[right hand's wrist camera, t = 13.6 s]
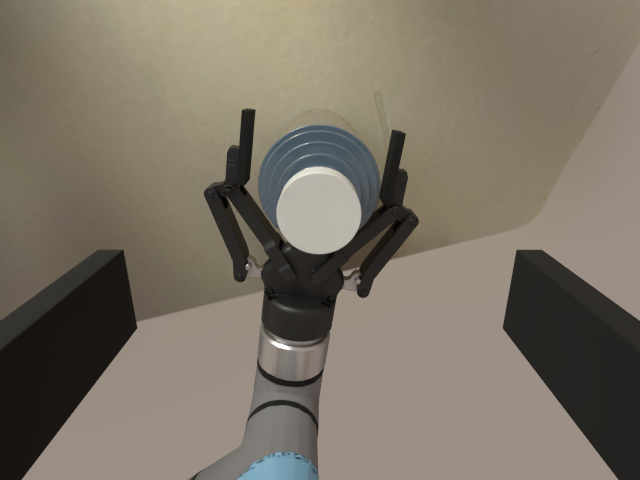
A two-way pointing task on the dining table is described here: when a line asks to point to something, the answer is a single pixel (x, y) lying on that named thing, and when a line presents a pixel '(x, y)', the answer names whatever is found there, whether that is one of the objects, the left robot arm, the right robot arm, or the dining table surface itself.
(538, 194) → the dining table surface
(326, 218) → the cap
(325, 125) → the bottle
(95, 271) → the right robot arm
